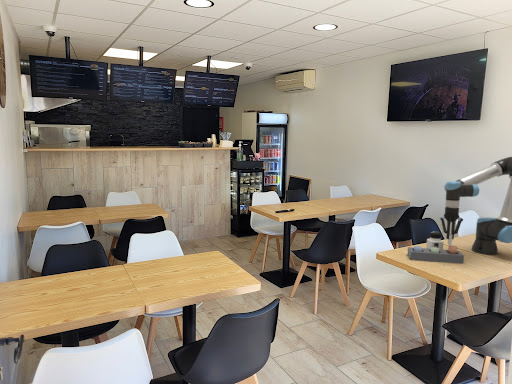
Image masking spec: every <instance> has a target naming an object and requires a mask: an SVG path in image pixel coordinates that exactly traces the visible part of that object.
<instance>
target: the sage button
mask: <svg viewBox="0 0 512 384" xmlns="http://www.w3.org/2000/svg"><path fill="white" fill-rule="evenodd" d="M431 252H434V253H439V248H437V247H431Z"/></svg>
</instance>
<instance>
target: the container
mask: <svg viewBox="0 0 512 384" xmlns="http://www.w3.org/2000/svg"><path fill="white" fill-rule="evenodd" d="M431 247H437V248H439V249H443V250H444V241H443V240H442V233H441V232H439V231H432V232H430V233H429V238H427V239H426V247H425V248H428V249H431Z"/></svg>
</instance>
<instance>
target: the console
mask: <svg viewBox="0 0 512 384" xmlns="http://www.w3.org/2000/svg"><path fill="white" fill-rule="evenodd" d="M407 256H408V259H409V260H410V261H423V262H435V263H436V262H437V263H438V262H439V263H450V264H451V263H452V264H462V265H463V264H464V262H465V261H464V260H465V259H464V258H465V255H464V254H463V252H461V251H460V250H458V249H457V254H449V253H448V249H444V248H443V249H439V253H434V252H431V249H428V248H426V247H425V248H424V247H422V252H419V251H414V246H413V247H412V246H411V247H409V246H408V247H407Z"/></svg>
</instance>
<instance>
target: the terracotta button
mask: <svg viewBox="0 0 512 384" xmlns="http://www.w3.org/2000/svg"><path fill="white" fill-rule="evenodd" d="M447 250H448V253H449V254H457V250H458V246H456V245H448V249H447Z"/></svg>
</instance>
